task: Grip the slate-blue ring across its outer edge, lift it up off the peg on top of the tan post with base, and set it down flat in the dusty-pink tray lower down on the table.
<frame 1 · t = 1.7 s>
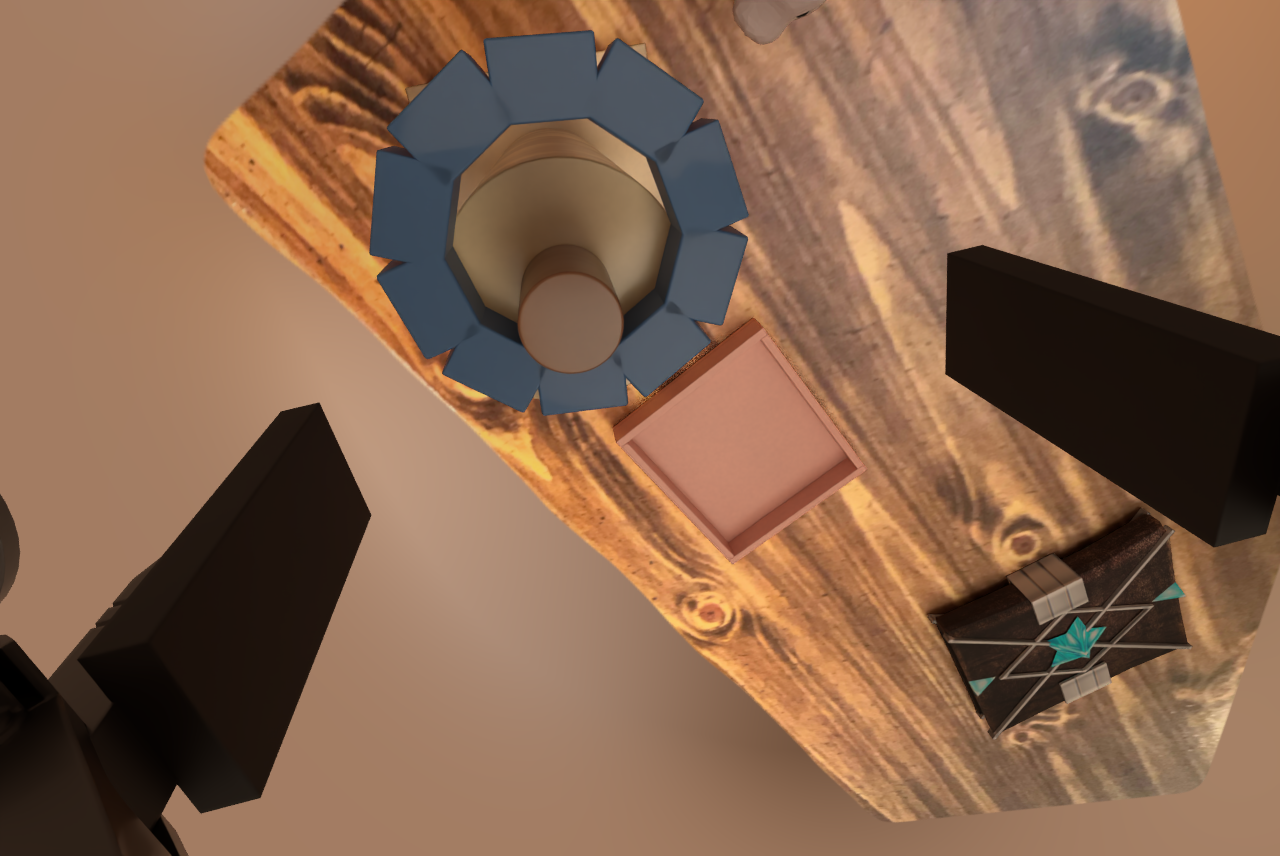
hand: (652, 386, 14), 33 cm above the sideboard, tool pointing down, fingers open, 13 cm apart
tray: (738, 441, 52), on the sideboard
ring: (563, 233, 19), point 26 cm above the sideboard, touching tan post with base
tan post with base: (553, 189, 43), on the sideboard
book: (1048, 616, 66), on the sideboard
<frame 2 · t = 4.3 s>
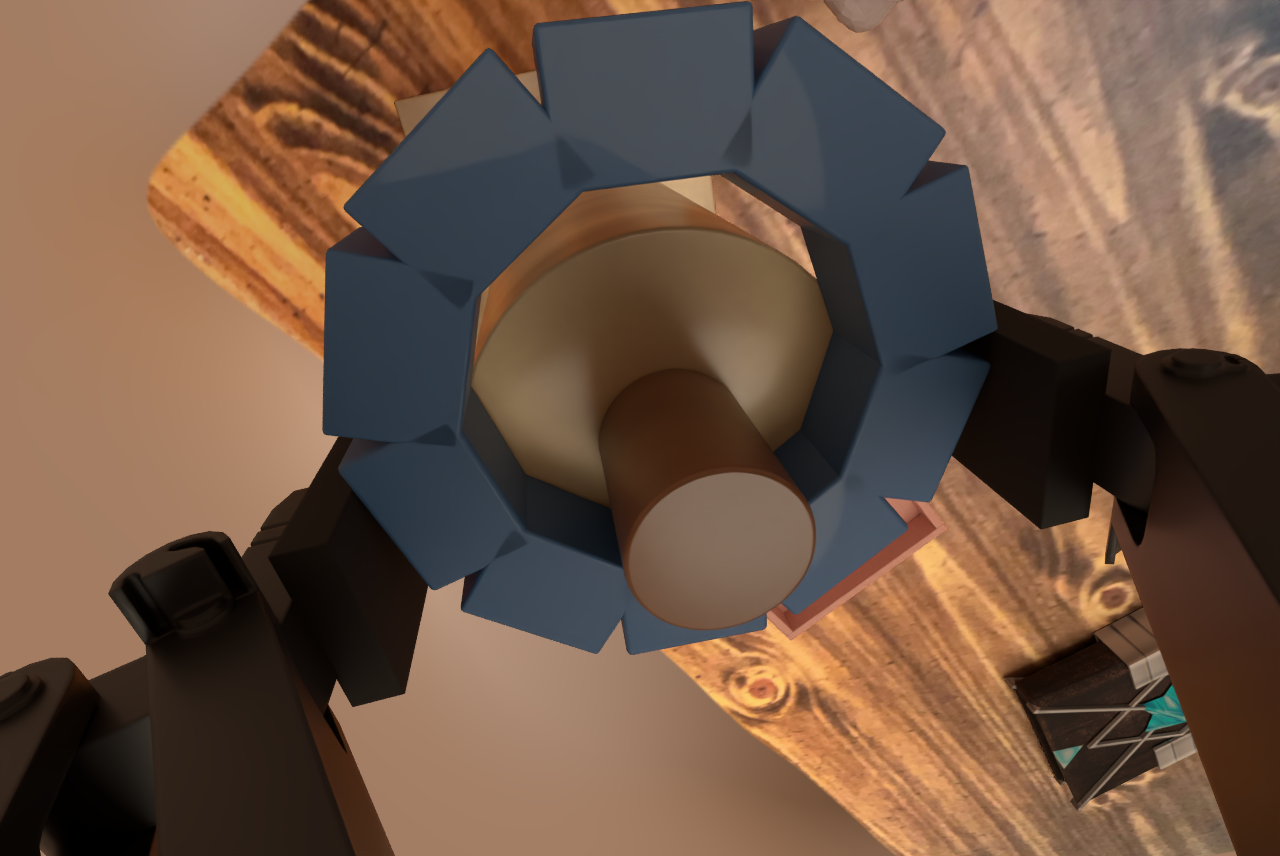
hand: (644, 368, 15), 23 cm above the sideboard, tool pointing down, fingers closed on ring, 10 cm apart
tray: (795, 500, 45), on the sideboard
ring: (656, 355, 11), point 26 cm above the sideboard, touching gripper, tan post with base
tan post with base: (578, 218, 35), on the sideboard
book: (1137, 671, 59), on the sideboard
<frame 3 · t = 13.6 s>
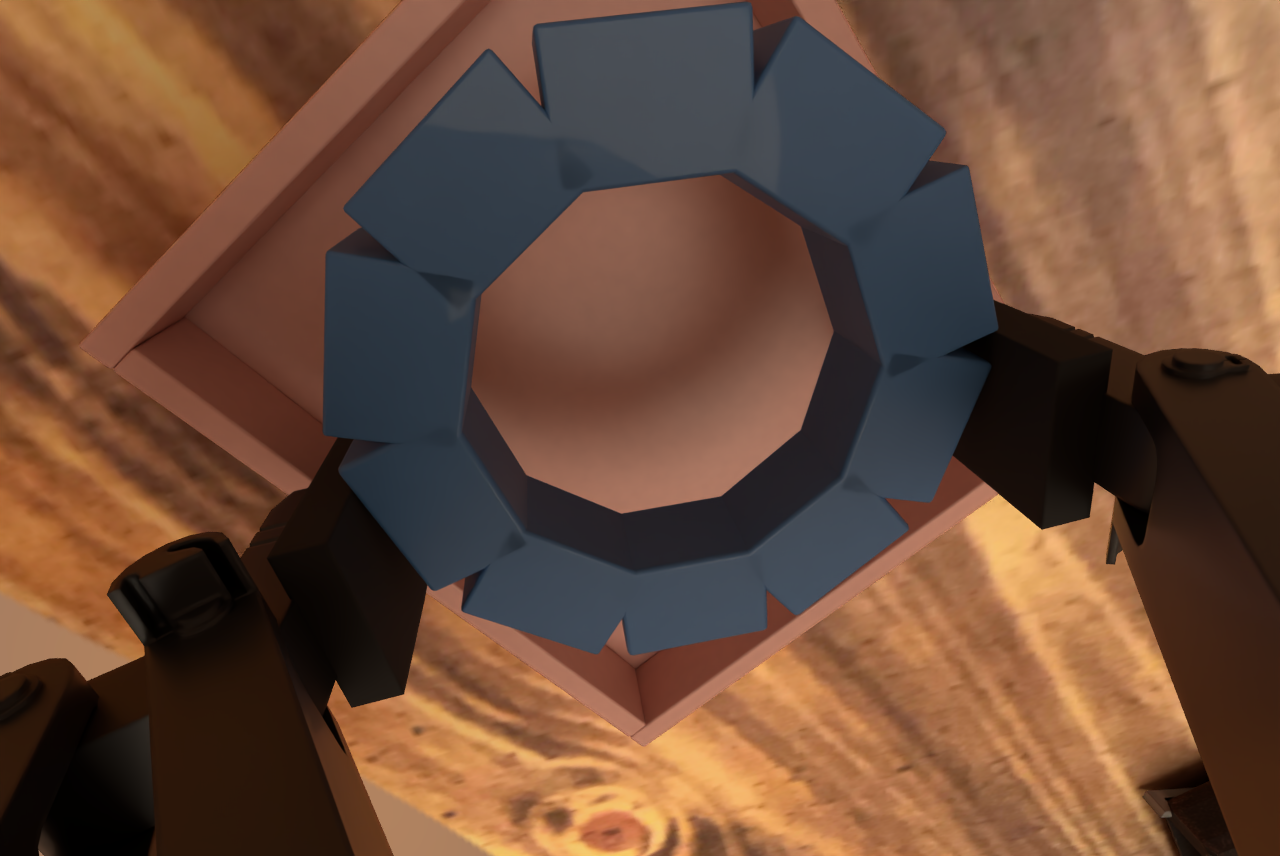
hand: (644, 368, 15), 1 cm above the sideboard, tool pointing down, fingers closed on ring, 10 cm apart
tray: (636, 356, 15), on the sideboard
ring: (656, 356, 11), point 4 cm above the sideboard, touching gripper
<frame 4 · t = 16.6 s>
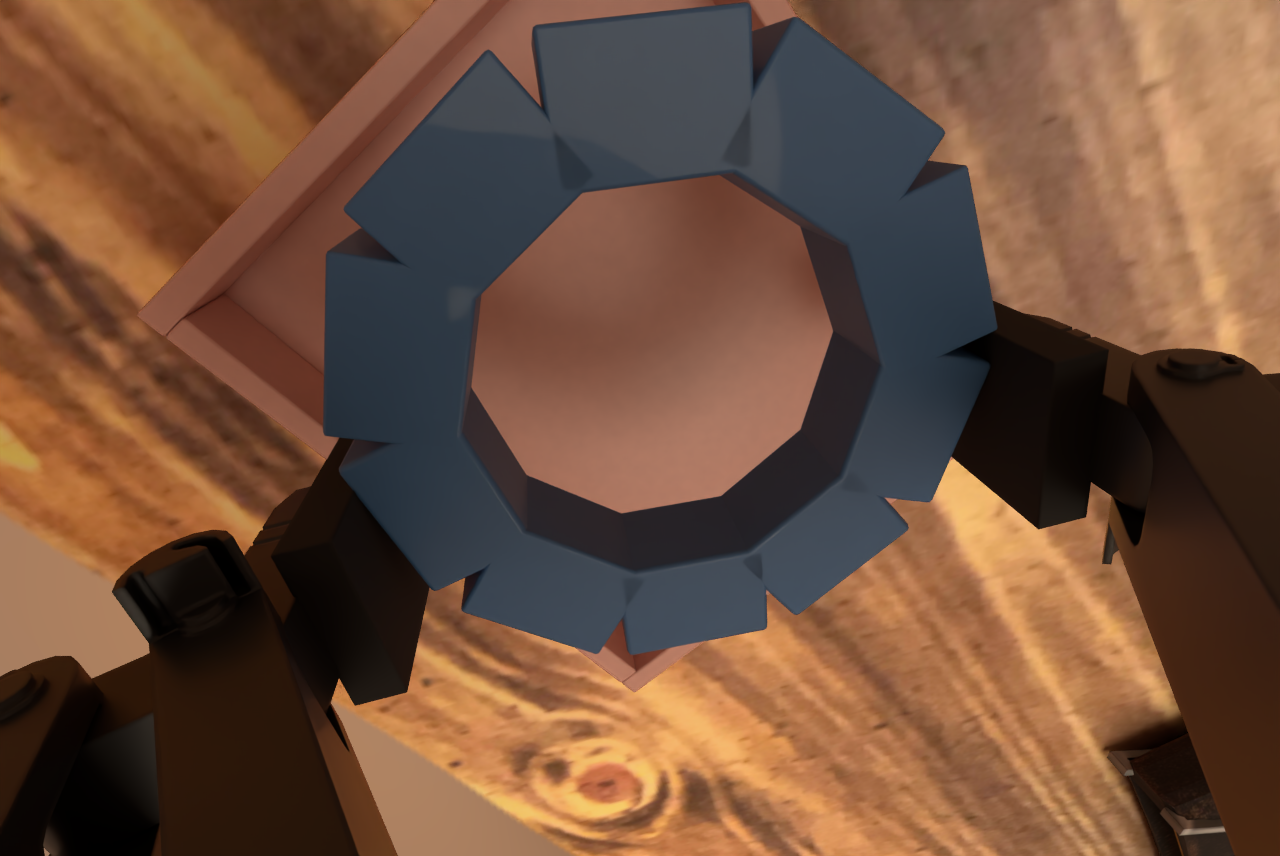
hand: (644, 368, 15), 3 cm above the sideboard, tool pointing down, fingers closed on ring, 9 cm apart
tray: (626, 332, 17), on the sideboard
ring: (656, 356, 11), point 6 cm above the sideboard, touching gripper
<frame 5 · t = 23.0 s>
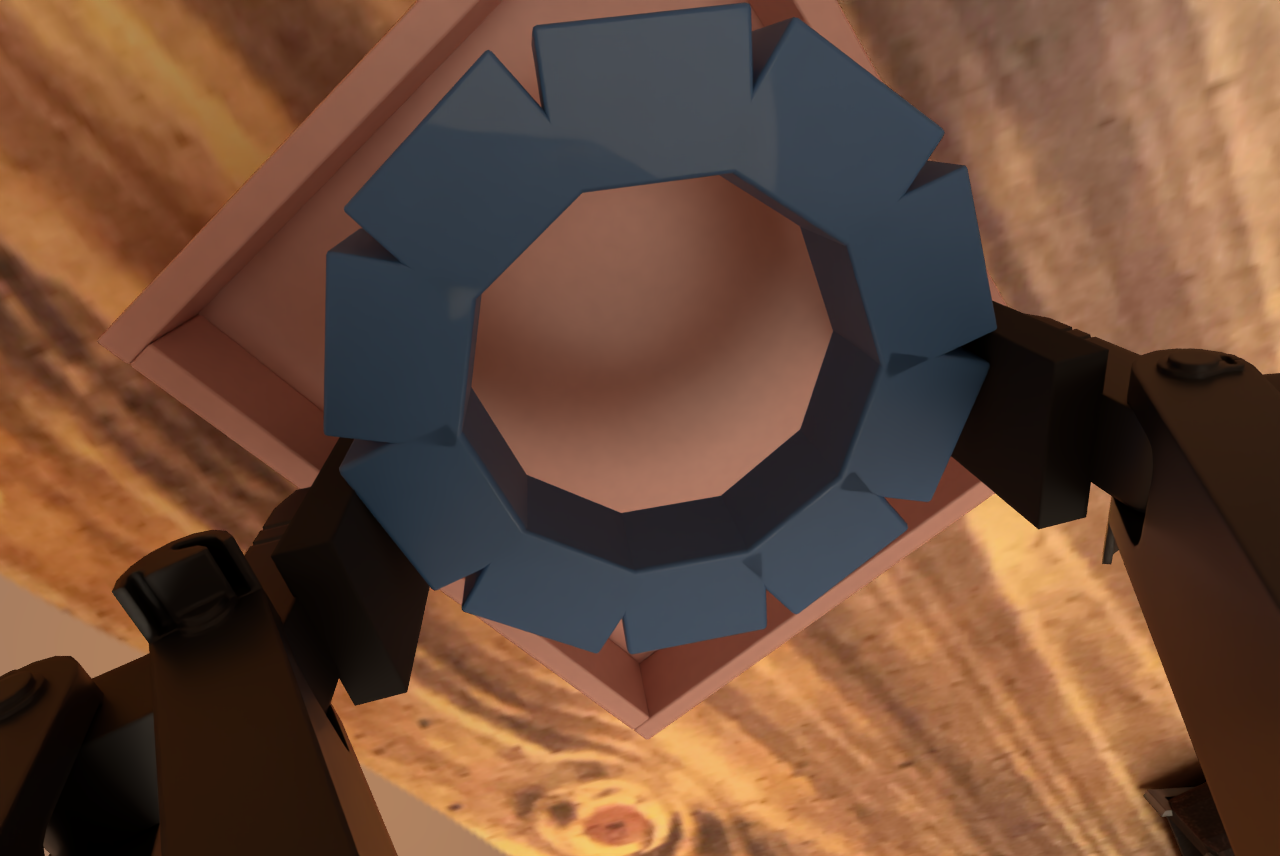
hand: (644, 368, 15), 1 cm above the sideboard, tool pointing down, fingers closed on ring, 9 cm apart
tray: (641, 354, 16), on the sideboard
ring: (655, 356, 11), point 4 cm above the sideboard, touching gripper
when the fingers open (3 cm above the sideboard, at t = 29.2 s): ring drops 6 cm, resting on tray.
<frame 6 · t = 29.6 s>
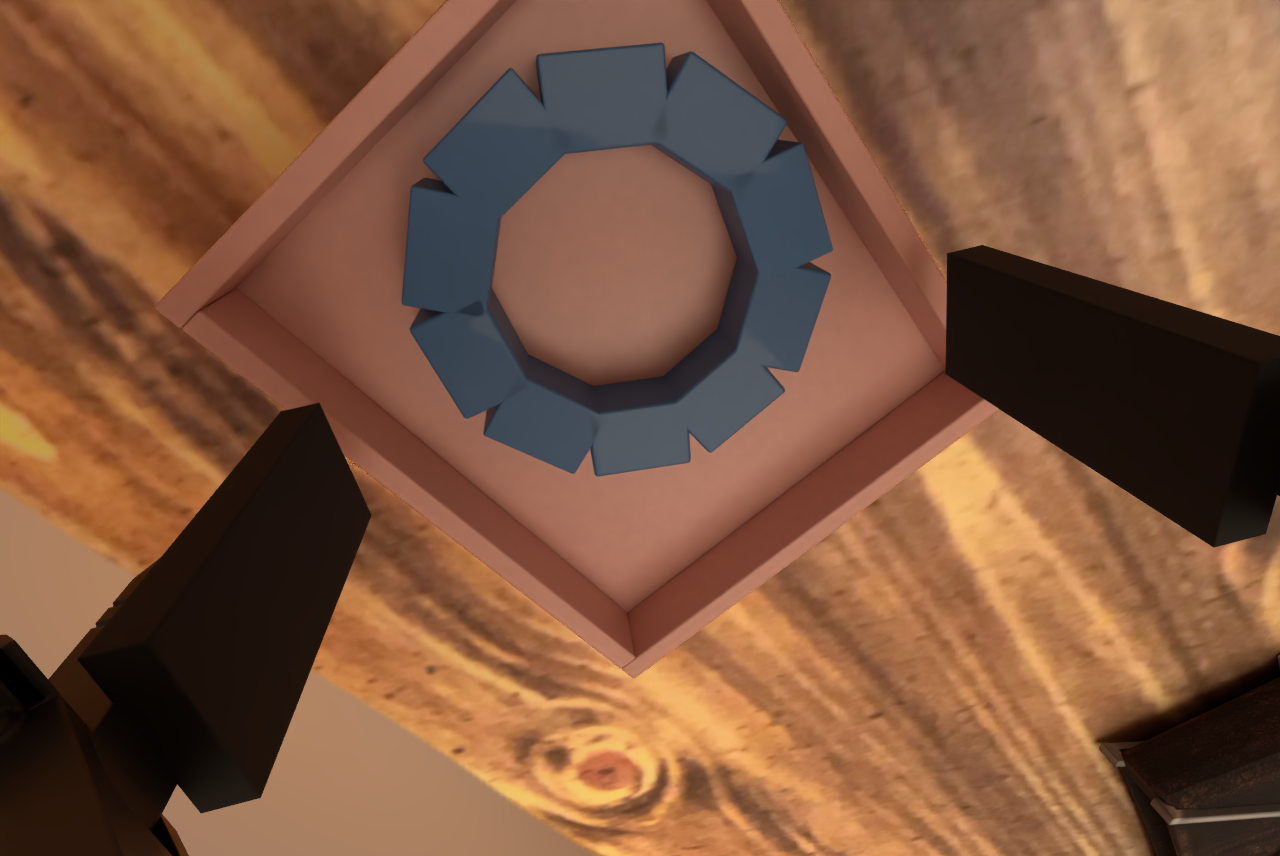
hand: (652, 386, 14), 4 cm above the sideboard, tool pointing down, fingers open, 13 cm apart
tray: (626, 327, 18), on the sideboard
ring: (616, 271, 16), resting on tray
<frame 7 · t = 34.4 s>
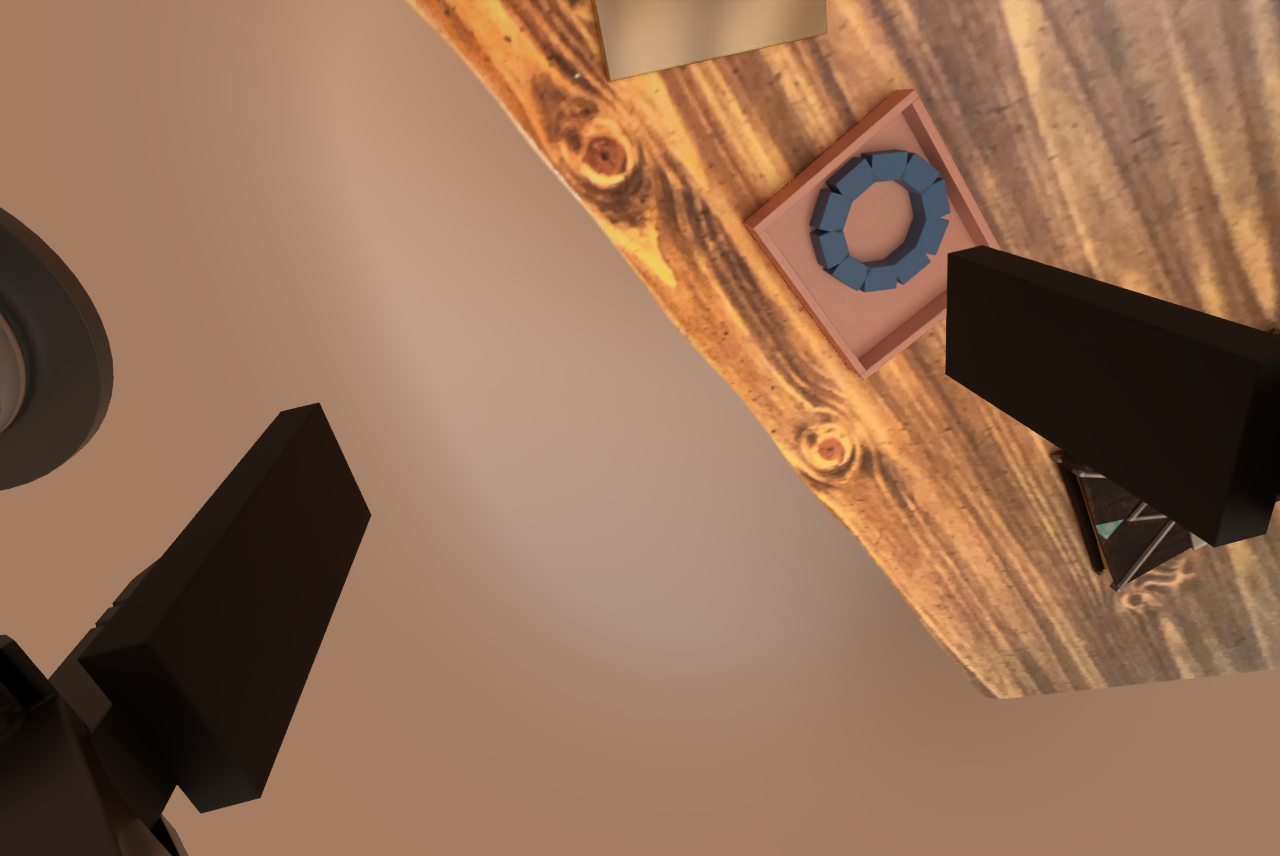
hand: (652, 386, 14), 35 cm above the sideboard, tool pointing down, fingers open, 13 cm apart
tray: (871, 241, 49), on the sideboard
ring: (873, 220, 48), resting on tray
book: (1172, 458, 63), on the sideboard
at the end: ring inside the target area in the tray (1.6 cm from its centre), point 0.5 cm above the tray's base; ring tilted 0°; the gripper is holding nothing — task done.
